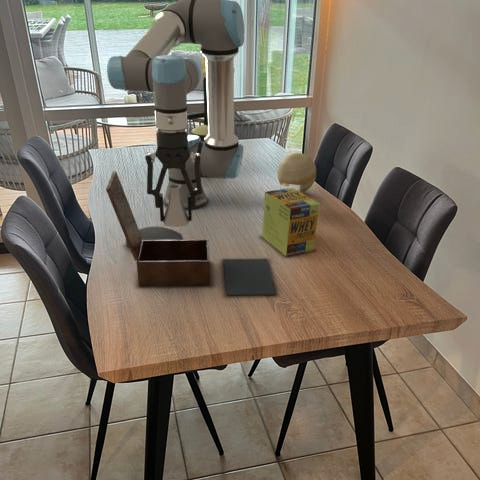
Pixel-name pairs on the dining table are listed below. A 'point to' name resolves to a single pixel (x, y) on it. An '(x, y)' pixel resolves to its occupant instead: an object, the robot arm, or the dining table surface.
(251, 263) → the place mat
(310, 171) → the beige round ball
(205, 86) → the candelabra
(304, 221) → the protein box
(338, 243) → the dining table surface
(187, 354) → the dining table surface
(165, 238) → the dark grey disc
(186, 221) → the flask
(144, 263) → the open wooden box
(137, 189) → the dining table surface
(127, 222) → the lid
